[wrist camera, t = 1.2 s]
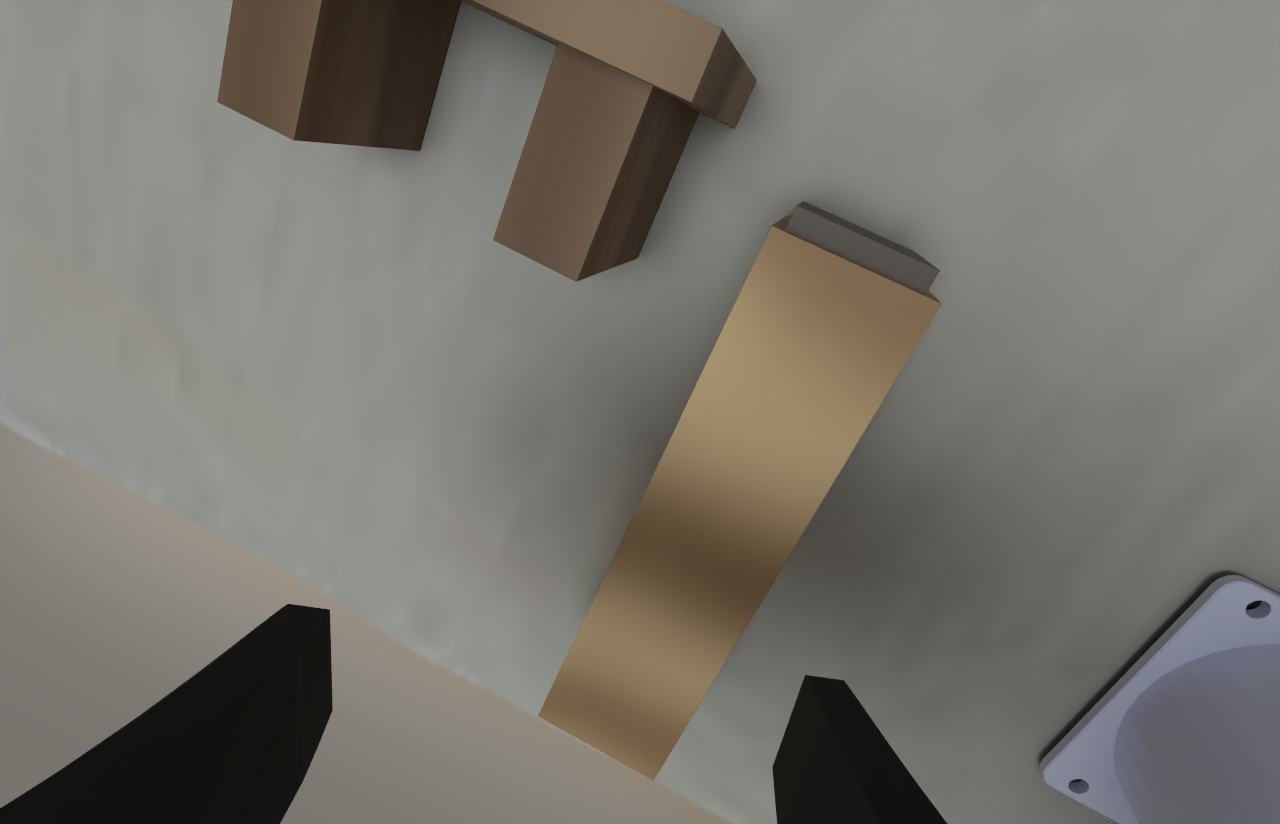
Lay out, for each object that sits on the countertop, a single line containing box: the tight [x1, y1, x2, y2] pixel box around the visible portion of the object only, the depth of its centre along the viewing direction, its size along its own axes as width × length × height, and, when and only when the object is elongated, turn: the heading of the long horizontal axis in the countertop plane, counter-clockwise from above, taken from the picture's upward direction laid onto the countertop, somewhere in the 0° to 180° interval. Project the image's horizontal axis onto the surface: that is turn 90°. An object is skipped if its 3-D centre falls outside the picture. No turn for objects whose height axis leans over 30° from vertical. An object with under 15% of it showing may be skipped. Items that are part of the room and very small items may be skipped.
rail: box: [538, 202, 941, 780], centre depth 18 cm, size 14×4×5 cm, turn 157°
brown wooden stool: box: [217, 0, 756, 282], centre depth 16 cm, size 11×5×6 cm, turn 66°
